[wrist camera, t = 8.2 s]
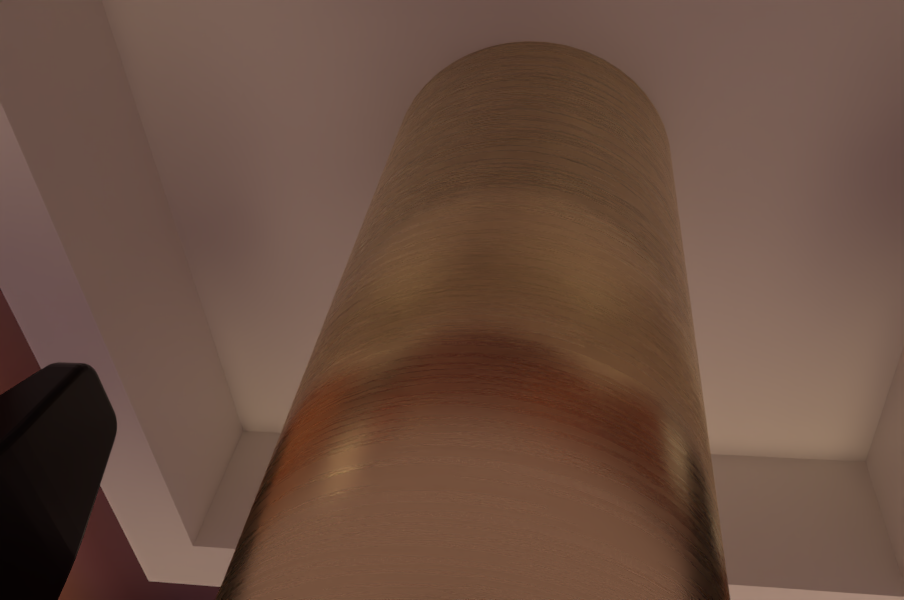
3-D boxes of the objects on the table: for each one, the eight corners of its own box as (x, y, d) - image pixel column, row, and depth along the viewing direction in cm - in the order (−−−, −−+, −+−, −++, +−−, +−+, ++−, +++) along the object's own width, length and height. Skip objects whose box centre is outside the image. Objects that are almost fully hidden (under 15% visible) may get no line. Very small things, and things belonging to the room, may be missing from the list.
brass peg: (410, 281, 14) (176, 1104, 6) (377, 44, 12) (-74, 918, 4) (660, 286, 13) (746, 1206, 6) (683, 36, 11) (887, 1058, 3)
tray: (215, 439, 18) (149, 581, 16) (-86, -393, 10) (-346, -395, 7) (908, 474, 16) (969, 645, 14) (1299, -548, 8) (1678, -636, 5)
